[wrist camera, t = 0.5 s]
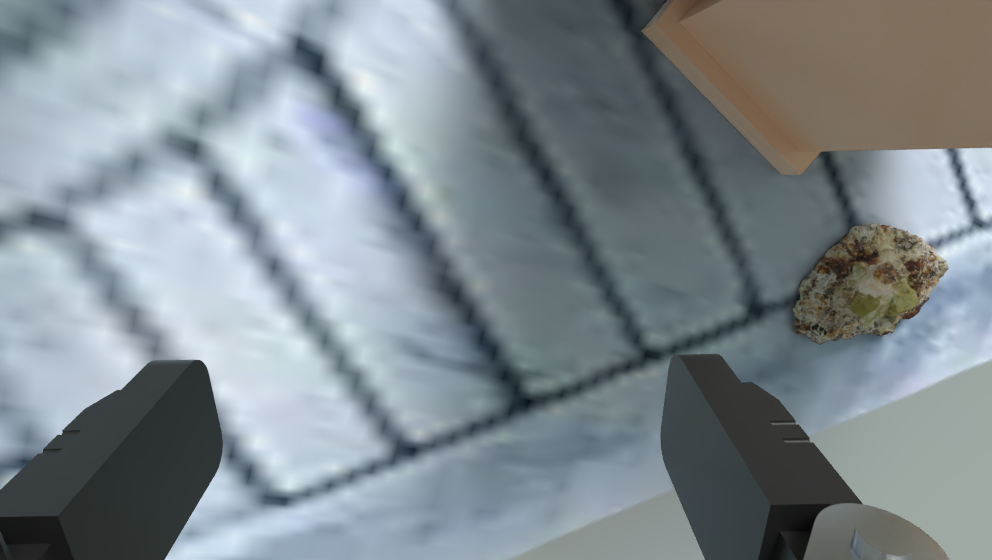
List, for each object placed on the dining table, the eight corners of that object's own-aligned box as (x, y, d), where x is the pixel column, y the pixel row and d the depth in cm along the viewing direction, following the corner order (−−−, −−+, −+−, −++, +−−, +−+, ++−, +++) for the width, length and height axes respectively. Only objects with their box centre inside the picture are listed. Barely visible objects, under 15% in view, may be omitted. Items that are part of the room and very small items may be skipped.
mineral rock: (925, 191, 38) (990, 300, 38) (882, 201, 42) (939, 300, 42) (778, 273, 38) (842, 383, 38) (750, 276, 42) (807, 374, 42)
